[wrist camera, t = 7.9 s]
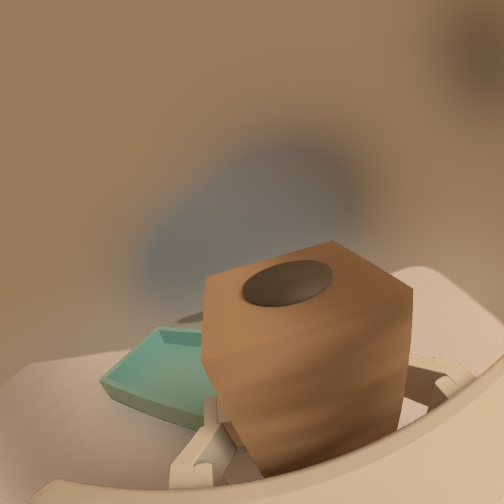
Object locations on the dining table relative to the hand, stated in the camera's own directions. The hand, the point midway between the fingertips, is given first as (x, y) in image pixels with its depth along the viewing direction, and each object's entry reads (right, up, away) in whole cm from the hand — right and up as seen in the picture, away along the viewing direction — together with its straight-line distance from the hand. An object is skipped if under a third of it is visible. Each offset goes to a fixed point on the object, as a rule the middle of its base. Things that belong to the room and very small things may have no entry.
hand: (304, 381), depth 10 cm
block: (+2, -6, +1) cm, 6 cm away
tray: (-8, -9, +17) cm, 20 cm away
